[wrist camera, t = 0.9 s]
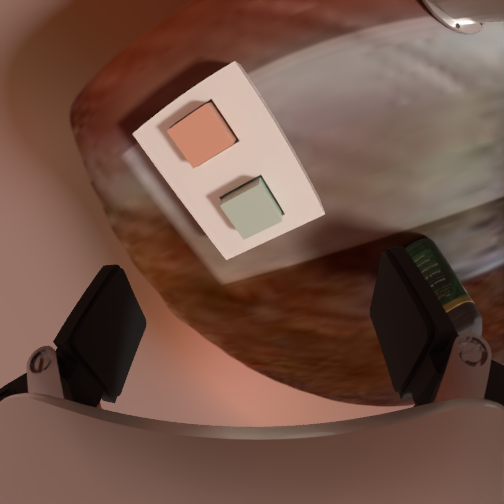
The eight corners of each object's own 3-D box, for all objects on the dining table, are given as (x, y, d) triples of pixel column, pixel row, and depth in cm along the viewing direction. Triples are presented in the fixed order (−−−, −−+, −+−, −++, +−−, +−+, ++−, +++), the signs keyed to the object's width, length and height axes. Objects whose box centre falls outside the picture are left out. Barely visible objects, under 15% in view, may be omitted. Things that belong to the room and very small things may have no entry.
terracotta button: (213, 101, 27) (206, 103, 24) (237, 137, 29) (233, 144, 26) (177, 125, 28) (166, 131, 25) (200, 159, 30) (193, 168, 28)
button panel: (240, 64, 27) (234, 61, 23) (319, 197, 36) (325, 214, 32) (149, 126, 32) (132, 133, 27) (231, 239, 41) (226, 260, 37)
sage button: (260, 174, 31) (259, 184, 28) (281, 208, 33) (282, 221, 31) (224, 193, 33) (219, 205, 30) (246, 225, 35) (243, 239, 32)
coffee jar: (389, 253, 40) (432, 347, 25) (429, 228, 37) (488, 313, 21) (405, 289, 44) (441, 375, 29) (441, 268, 41) (487, 349, 25)
